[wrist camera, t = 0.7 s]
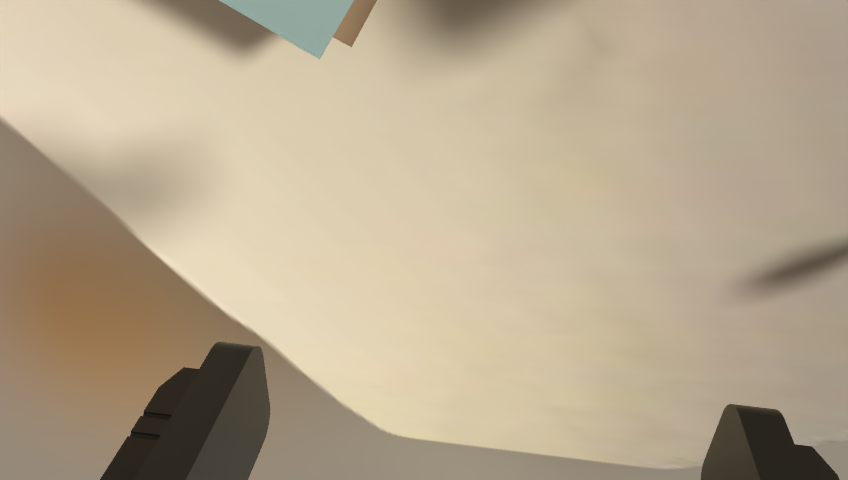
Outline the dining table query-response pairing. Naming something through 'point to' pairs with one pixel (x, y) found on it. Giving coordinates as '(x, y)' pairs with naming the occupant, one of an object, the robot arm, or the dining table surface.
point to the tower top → (297, 19)
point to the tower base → (354, 21)
